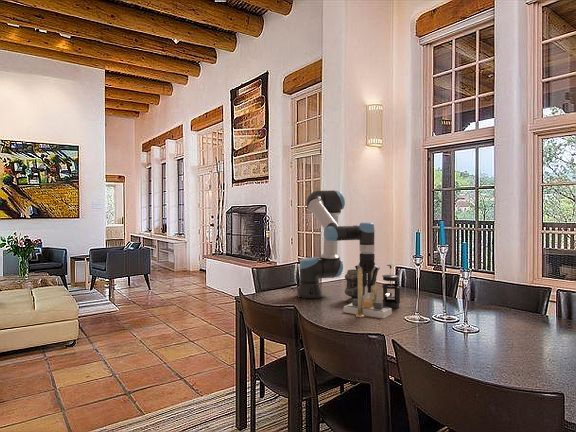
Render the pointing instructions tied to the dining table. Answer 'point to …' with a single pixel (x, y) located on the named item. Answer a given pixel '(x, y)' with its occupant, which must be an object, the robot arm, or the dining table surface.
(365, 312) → the panel
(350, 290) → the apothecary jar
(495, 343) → the dining table surface
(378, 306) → the paddle far
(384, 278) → the black lantern
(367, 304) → the paddle mid
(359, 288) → the candlestick
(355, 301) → the paddle near base
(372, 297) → the candlestick
